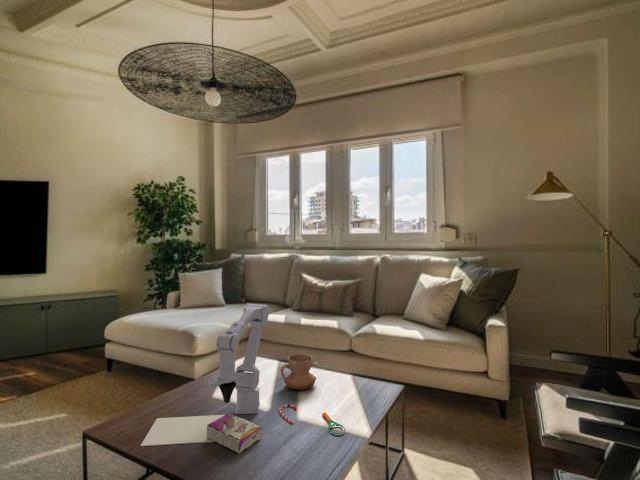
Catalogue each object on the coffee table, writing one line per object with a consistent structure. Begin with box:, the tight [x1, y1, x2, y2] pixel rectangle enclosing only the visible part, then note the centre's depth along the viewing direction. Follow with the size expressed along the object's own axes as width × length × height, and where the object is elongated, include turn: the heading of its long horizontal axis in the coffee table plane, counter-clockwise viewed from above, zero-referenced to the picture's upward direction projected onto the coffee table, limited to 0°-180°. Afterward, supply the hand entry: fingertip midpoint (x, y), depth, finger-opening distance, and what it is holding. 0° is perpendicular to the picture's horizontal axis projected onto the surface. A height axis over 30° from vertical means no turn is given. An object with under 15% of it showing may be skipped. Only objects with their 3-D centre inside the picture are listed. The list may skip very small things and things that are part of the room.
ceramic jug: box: [280, 353, 318, 391], centre depth 172 cm, size 18×14×14 cm
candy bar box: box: [207, 412, 262, 454], centre depth 128 cm, size 11×5×16 cm
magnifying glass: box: [321, 412, 346, 434], centre depth 138 cm, size 15×6×2 cm, turn 23°
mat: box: [140, 414, 226, 447], centre depth 133 cm, size 26×18×1 cm
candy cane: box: [278, 404, 297, 425], centre depth 145 cm, size 8×1×15 cm
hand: (226, 401), depth 134 cm, fingers closed
